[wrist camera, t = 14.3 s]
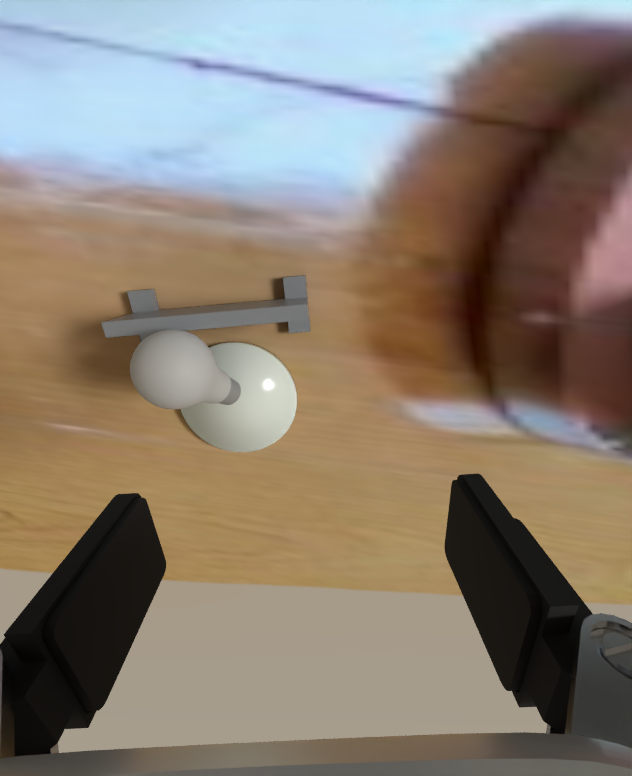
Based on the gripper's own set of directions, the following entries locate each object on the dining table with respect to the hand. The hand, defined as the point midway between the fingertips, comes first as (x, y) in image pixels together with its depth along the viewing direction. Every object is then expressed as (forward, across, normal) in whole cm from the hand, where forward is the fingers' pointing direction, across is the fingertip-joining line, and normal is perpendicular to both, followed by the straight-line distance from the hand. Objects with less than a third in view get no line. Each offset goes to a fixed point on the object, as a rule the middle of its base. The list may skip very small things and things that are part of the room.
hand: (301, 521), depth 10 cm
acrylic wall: (+24, +8, -3) cm, 26 cm away
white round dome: (+24, +8, +6) cm, 26 cm away
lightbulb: (+22, +8, +5) cm, 24 cm away
